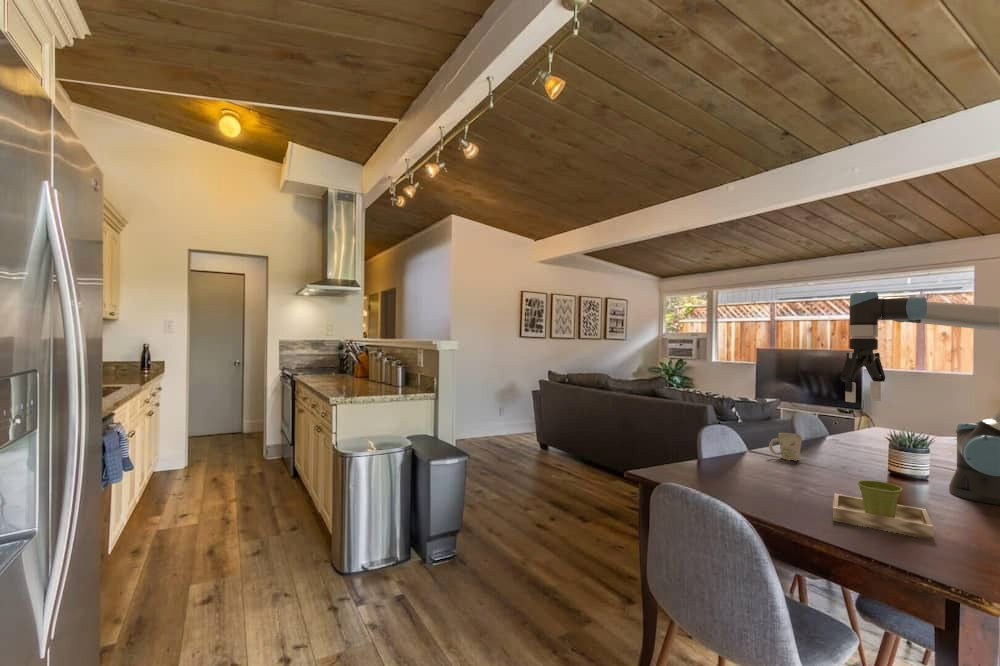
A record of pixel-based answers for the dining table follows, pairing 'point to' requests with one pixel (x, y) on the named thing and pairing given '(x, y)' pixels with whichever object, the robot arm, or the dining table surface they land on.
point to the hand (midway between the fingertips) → (863, 401)
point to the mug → (788, 446)
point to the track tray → (883, 518)
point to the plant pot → (879, 497)
